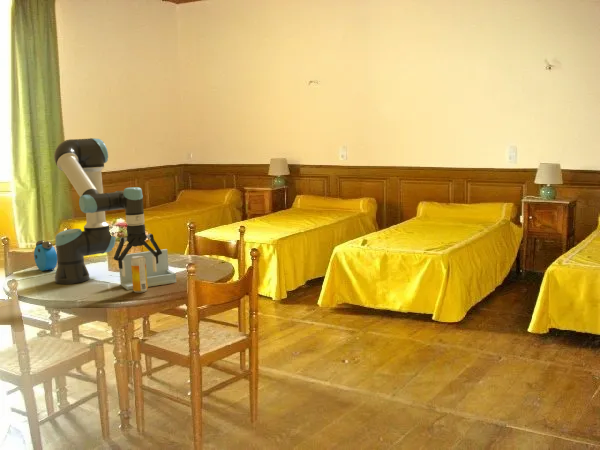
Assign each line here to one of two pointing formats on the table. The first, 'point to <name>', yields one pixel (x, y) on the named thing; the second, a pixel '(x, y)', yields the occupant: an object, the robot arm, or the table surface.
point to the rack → (149, 270)
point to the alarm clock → (45, 255)
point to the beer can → (139, 274)
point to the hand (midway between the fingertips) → (139, 273)
